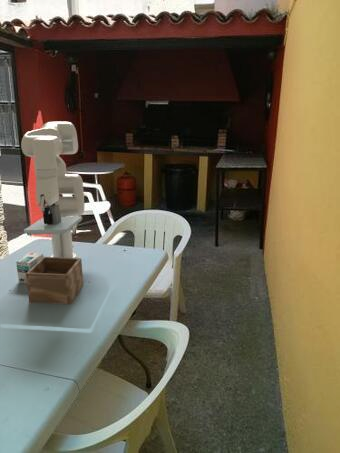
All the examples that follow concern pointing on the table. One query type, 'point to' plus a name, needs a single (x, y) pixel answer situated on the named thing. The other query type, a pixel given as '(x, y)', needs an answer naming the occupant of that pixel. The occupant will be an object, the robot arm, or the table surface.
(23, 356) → the table surface
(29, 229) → the lid
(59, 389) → the table surface
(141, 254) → the table surface
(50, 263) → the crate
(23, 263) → the light bulb box
